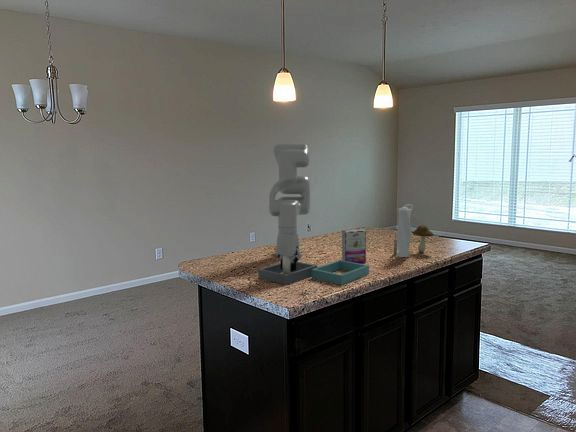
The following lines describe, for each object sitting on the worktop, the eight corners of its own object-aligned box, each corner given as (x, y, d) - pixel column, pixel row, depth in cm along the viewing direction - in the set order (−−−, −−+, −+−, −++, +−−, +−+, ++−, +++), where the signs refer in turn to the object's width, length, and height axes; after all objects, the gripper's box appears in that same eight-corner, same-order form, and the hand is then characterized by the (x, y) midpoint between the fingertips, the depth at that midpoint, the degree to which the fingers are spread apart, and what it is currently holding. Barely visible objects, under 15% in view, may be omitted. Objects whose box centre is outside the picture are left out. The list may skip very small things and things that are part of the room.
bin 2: (311, 278, 202) (311, 269, 201) (339, 268, 219) (339, 260, 218) (342, 284, 192) (342, 275, 191) (368, 274, 208) (369, 265, 208)
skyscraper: (408, 255, 247) (410, 203, 243) (413, 258, 239) (415, 205, 235) (393, 255, 247) (394, 203, 243) (397, 258, 239) (398, 205, 235)
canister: (280, 276, 205) (280, 254, 204) (287, 273, 209) (287, 252, 208) (289, 278, 202) (289, 256, 200) (296, 275, 206) (296, 254, 204)
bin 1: (258, 278, 202) (258, 269, 202) (290, 268, 219) (290, 260, 218) (286, 285, 192) (286, 275, 191) (317, 274, 209) (317, 265, 208)
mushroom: (428, 255, 244) (429, 227, 242) (408, 252, 252) (409, 225, 250) (435, 252, 251) (437, 225, 249) (416, 249, 259) (417, 223, 256)
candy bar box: (361, 260, 234) (362, 228, 231) (365, 262, 229) (366, 230, 227) (341, 262, 231) (341, 229, 228) (345, 264, 226) (345, 231, 224)
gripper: (268, 229, 205) (268, 268, 208) (297, 233, 194) (297, 275, 197) (279, 226, 211) (279, 265, 213) (308, 231, 200) (308, 271, 202)
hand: (288, 269), depth 205 cm, fingers closed on canister, 5 cm apart
